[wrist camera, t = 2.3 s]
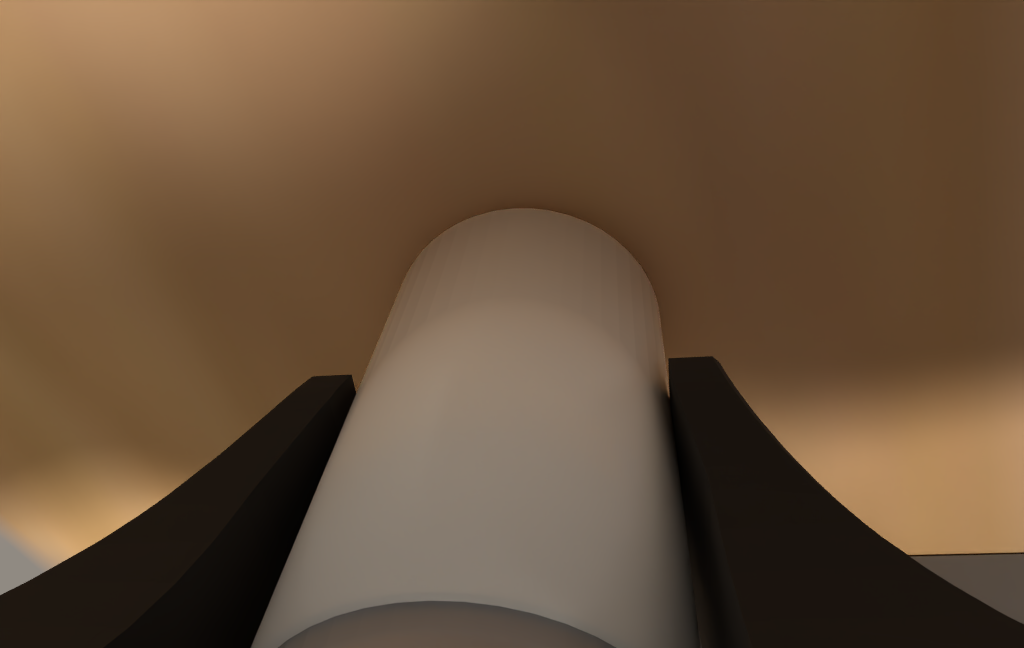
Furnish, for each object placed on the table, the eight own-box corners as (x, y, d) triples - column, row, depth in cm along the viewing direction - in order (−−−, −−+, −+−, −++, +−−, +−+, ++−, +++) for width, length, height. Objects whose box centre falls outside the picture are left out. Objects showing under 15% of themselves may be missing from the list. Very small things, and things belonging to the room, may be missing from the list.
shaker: (656, 196, 14) (733, 700, 6) (664, 431, 16) (726, 1014, 8) (373, 218, 14) (108, 698, 7) (419, 440, 17) (263, 992, 9)
